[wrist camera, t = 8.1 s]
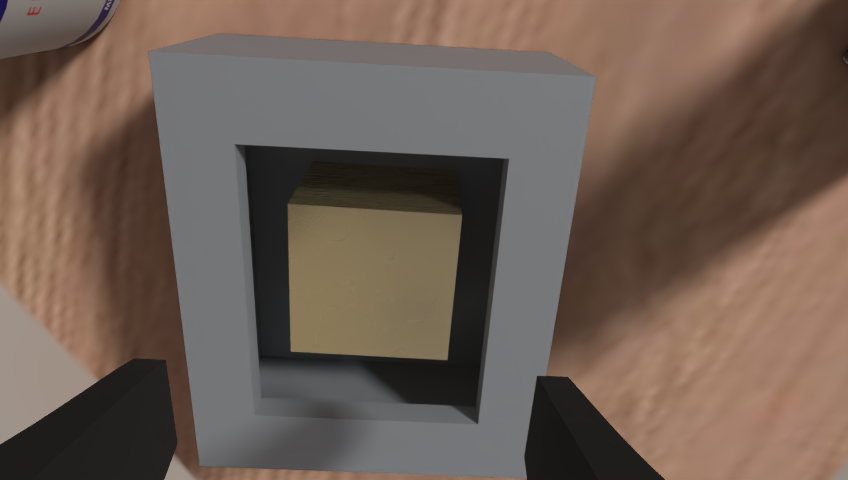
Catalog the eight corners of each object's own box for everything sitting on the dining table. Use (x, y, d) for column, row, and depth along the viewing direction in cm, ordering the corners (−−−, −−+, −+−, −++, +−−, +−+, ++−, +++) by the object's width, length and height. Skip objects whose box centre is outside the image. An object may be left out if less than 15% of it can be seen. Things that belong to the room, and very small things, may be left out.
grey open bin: (507, 378, 23) (528, 478, 18) (244, 367, 22) (199, 466, 18) (550, 52, 18) (596, 76, 13) (218, 33, 18) (148, 51, 13)
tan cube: (442, 293, 21) (447, 360, 17) (313, 285, 21) (290, 351, 17) (453, 170, 19) (462, 215, 15) (313, 161, 19) (287, 203, 15)
